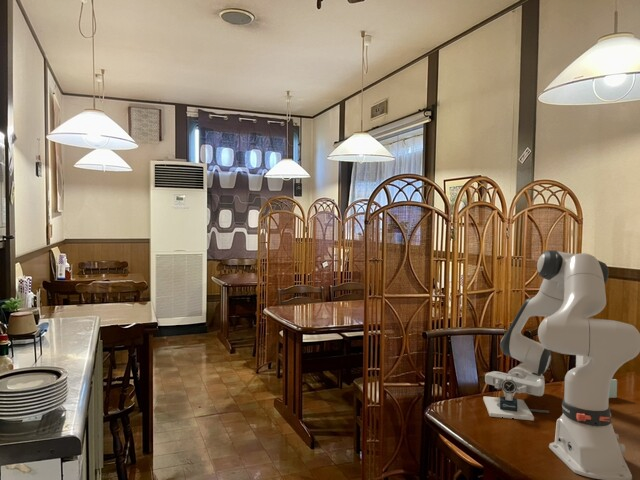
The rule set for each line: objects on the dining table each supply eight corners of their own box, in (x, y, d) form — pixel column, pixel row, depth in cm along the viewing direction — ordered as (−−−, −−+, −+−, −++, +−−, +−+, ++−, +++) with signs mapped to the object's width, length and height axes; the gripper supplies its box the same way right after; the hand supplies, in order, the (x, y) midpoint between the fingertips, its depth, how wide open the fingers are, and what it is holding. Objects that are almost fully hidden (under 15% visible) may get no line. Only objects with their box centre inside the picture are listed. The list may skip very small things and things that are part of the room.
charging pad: (555, 422, 151) (555, 418, 151) (490, 416, 156) (490, 412, 156) (542, 404, 167) (542, 401, 167) (483, 399, 171) (483, 396, 171)
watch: (500, 411, 157) (500, 380, 157) (499, 403, 164) (500, 373, 164) (517, 413, 155) (518, 382, 155) (516, 405, 162) (517, 375, 162)
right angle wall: (616, 399, 175) (617, 379, 175) (587, 400, 174) (588, 380, 173) (594, 388, 187) (595, 370, 187) (567, 389, 186) (567, 370, 185)
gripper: (492, 365, 178) (478, 373, 168) (548, 377, 164) (536, 386, 154) (492, 381, 178) (478, 390, 168) (548, 394, 165) (536, 404, 154)
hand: (506, 388), depth 161 cm, fingers open, 6 cm apart
